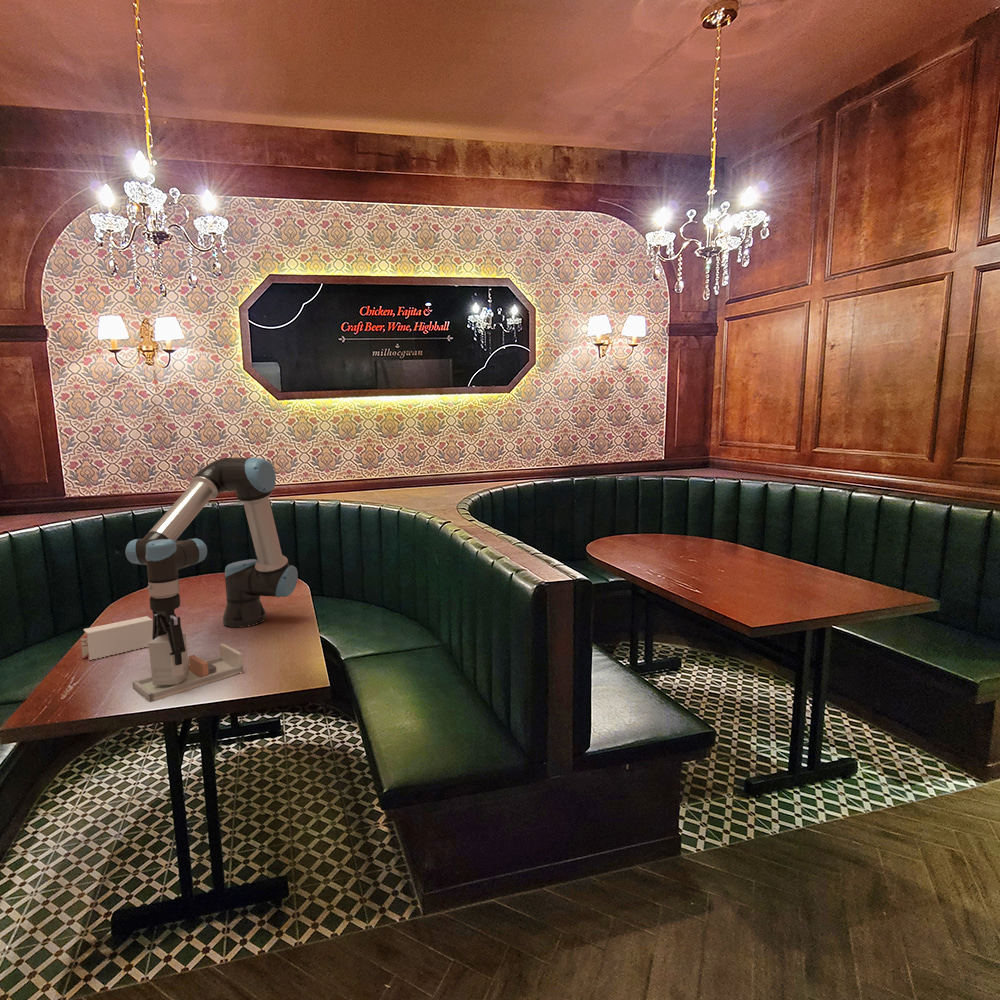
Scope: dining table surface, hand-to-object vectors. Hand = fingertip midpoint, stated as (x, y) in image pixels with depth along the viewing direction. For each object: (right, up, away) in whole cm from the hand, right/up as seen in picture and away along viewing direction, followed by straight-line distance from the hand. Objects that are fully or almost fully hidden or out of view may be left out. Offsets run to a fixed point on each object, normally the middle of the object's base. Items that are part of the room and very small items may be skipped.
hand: (170, 669), depth 176 cm
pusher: (+6, -3, +7) cm, 10 cm away
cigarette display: (-32, -2, +27) cm, 42 cm away
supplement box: (0, -3, 0) cm, 3 cm away
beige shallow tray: (+3, -4, +4) cm, 7 cm away
